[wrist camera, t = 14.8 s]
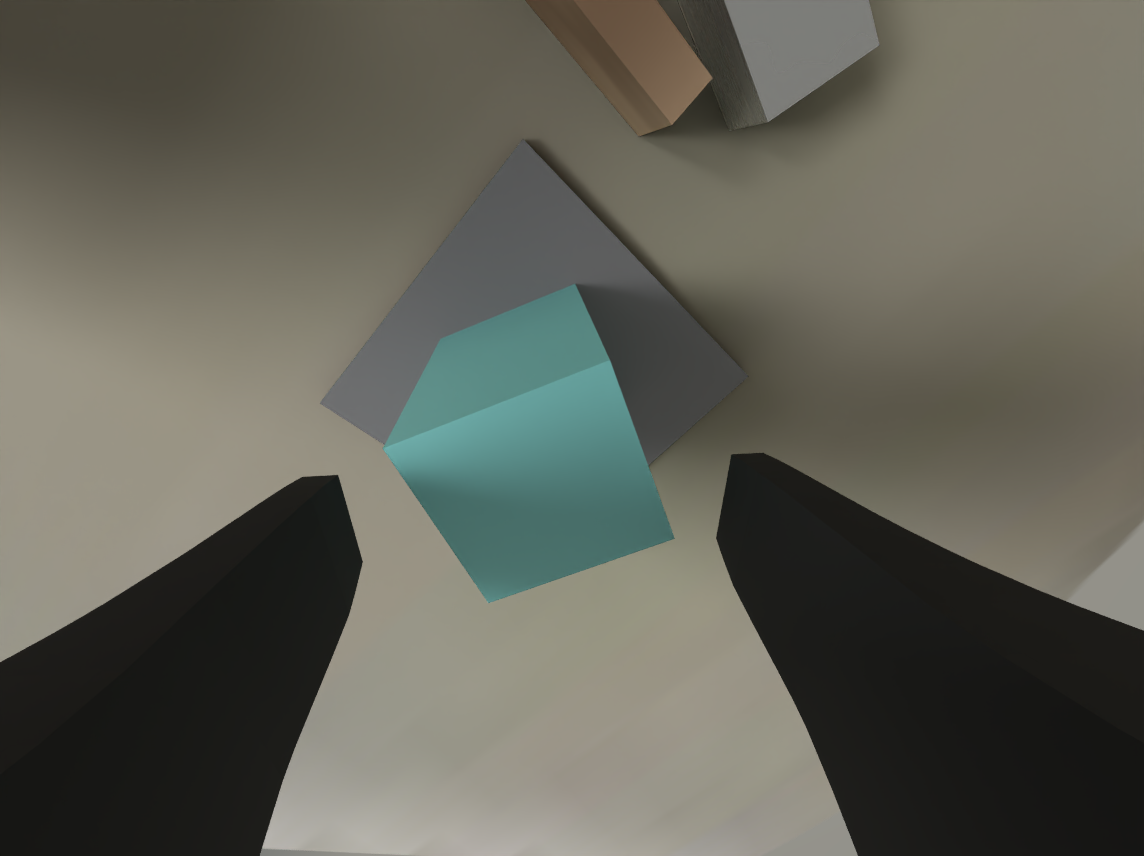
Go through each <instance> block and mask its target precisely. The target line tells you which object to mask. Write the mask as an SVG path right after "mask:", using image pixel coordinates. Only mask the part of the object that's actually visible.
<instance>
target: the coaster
mask: <svg viewBox="0 0 1144 856" xmlns="http://www.w3.org/2000/svg"><path fill="white" fill-rule="evenodd" d="M573 284H575V285H576V287H577V289H578V291H579V293H580V296H581V298H582V300H583V302H584V304H585V306H586V309H587V311H588V313H589V315H590V317H591V320H592V322H593V324H594V326H595V328H596V331H597V333H598V335H599V337H600V339H601V342H602V344H603V346H604V348H605V350H606V353H607V355H608V357H609V359H610V362H611V364H612V367H613V370H614V373H615V375H616V378H617V381H618V384H619V387H620V389H621V392H622V395H623V398H624V400H625V403H626V406H627V409H628V411H629V414H630V417H631V420H632V422H633V425H634V428H635V431H636V433H637V436H638V439H639V442H640V444H641V447H642V450H643V453H644V455H645V458H646V461H647V464H648V465H649V464H651V463H652V462H653V461H654V460H655V459H656V458H657V457H658V456H660V455H661V454H662V453H663V452H664V451H665V450H666V449H667V448H669V447H670V446H671V445H672V444H673V443H674V442H675V441H676V440H678V439H679V438H680V437H681V436H682V435H683V434H684V433H685V432H687V431H688V430H689V429H690V428H691V427H692V426H693V425H694V424H696V423H697V422H698V421H699V420H700V419H701V418H702V417H703V416H705V415H706V414H707V413H708V412H709V411H710V410H711V409H712V408H714V407H715V406H716V405H717V404H718V403H719V402H720V401H721V400H723V399H724V398H725V397H726V396H727V395H728V394H729V393H730V392H732V391H733V390H734V389H735V388H736V387H737V386H738V385H739V384H741V383H742V382H743V381H744V380H745V379H746V378H747V377H748V375H747V374H746V373H745V372H744V371H743V370H742V369H741V368H740V367H739V366H738V365H737V364H736V362H735V361H734V360H733V359H732V358H731V357H730V356H729V355H728V354H727V353H726V352H725V351H724V350H723V349H722V348H721V347H720V346H719V345H718V344H717V342H716V341H715V340H714V339H713V338H712V337H711V336H710V335H709V334H708V333H707V332H706V331H705V330H704V329H703V328H702V327H701V326H700V325H699V324H698V322H697V321H696V320H695V319H694V318H693V317H692V316H691V315H690V314H689V313H688V312H687V311H686V310H685V309H684V308H683V307H682V306H681V305H680V304H679V303H678V301H677V300H676V299H675V298H674V297H673V296H672V295H671V294H670V293H669V292H668V291H667V290H666V289H665V288H664V287H663V286H662V285H661V284H660V283H659V281H658V280H657V279H656V278H655V277H654V276H653V275H652V274H651V273H650V272H649V271H648V270H647V269H646V268H645V267H644V266H643V265H642V264H641V263H640V261H639V260H638V259H637V258H636V257H635V256H634V255H633V254H632V253H631V252H630V251H629V250H628V249H627V248H626V247H625V246H624V245H623V244H622V243H621V242H620V240H619V239H618V238H617V237H616V236H615V235H614V234H613V233H612V232H611V231H610V230H609V229H608V228H607V227H606V226H605V225H604V224H603V223H602V222H601V220H600V219H599V218H598V217H597V216H596V215H595V214H594V213H593V212H592V211H591V210H590V209H589V208H588V207H587V206H586V205H585V204H584V203H583V202H582V200H581V199H580V198H579V197H578V196H577V195H576V194H575V193H574V192H573V191H572V190H571V189H570V188H569V187H568V186H567V185H566V184H565V183H564V182H563V181H562V179H561V178H560V177H559V176H558V175H557V174H556V173H555V172H554V171H553V170H552V169H551V168H550V167H549V166H548V165H547V164H546V163H545V162H544V161H543V159H542V158H541V157H540V156H539V155H538V154H537V153H536V152H535V151H534V150H533V149H532V148H531V147H530V146H529V145H528V144H527V143H526V142H525V141H524V139H522V141H521V142H520V143H519V145H518V146H517V147H516V149H515V150H514V151H513V152H512V154H511V155H510V156H509V158H508V159H507V160H506V162H505V163H504V164H503V165H502V167H501V168H500V169H499V171H498V172H497V173H496V175H495V176H494V177H493V178H492V180H491V181H490V182H489V184H488V185H487V186H486V188H485V189H484V190H483V192H482V193H481V194H480V195H479V197H478V198H477V199H476V201H475V202H474V203H473V205H472V206H471V207H470V208H469V210H468V211H467V212H466V214H465V215H464V216H463V218H462V219H461V220H460V221H459V223H458V224H457V225H456V227H455V228H454V229H453V231H452V232H451V233H450V234H449V236H448V237H447V238H446V240H445V241H444V242H443V244H442V245H441V246H440V247H439V249H438V250H437V251H436V253H435V254H434V255H433V257H432V258H431V259H430V260H429V262H428V263H427V264H426V266H425V267H424V268H423V270H422V271H421V272H420V273H419V275H418V276H417V277H416V279H415V280H414V281H413V283H412V284H411V285H410V286H409V288H408V289H407V290H406V292H405V293H404V294H403V296H402V297H401V298H400V299H399V301H398V302H397V303H396V305H395V306H394V307H393V309H392V310H391V311H390V312H389V314H388V315H387V316H386V318H385V319H384V320H383V322H382V323H381V324H380V326H379V327H378V328H377V329H376V331H375V332H374V333H373V335H372V336H371V337H370V339H369V340H368V341H367V342H366V344H365V345H364V346H363V348H362V349H361V350H360V352H359V353H358V354H357V355H356V357H355V358H354V359H353V361H352V362H351V363H350V365H349V366H348V367H347V368H346V370H345V371H344V372H343V374H342V375H341V376H340V378H339V379H338V380H337V381H336V383H335V384H334V385H333V387H332V388H331V389H330V391H329V392H328V393H327V394H326V396H325V397H324V398H323V400H322V401H321V402H320V404H322V405H323V406H325V407H326V408H328V409H330V410H331V411H333V412H334V413H336V414H337V415H339V416H341V417H342V418H344V419H345V420H347V421H348V422H350V423H351V424H353V425H355V426H356V427H358V428H359V429H361V430H362V431H364V432H365V433H367V434H369V435H370V436H372V437H373V438H375V439H376V440H378V441H379V442H381V443H383V444H384V445H385V443H386V442H387V440H388V438H389V436H390V434H391V432H392V430H393V428H394V426H395V424H396V422H397V421H398V419H399V417H400V415H401V413H402V411H403V409H404V407H405V405H406V403H407V402H408V400H409V398H410V396H411V394H412V392H413V390H414V388H415V386H416V384H417V383H418V381H419V379H420V377H421V375H422V373H423V371H424V369H425V367H426V365H427V364H428V362H429V360H430V358H431V356H432V354H433V352H434V350H435V348H436V346H437V344H438V343H439V341H440V339H441V338H444V337H446V336H449V335H451V334H454V333H456V332H458V331H461V330H463V329H466V328H468V327H471V326H473V325H476V324H478V323H480V322H483V321H485V320H488V319H490V318H493V317H495V316H497V315H500V314H502V313H505V312H507V311H510V310H512V309H515V308H517V307H519V306H522V305H524V304H527V303H529V302H532V301H534V300H537V299H539V298H541V297H544V296H546V295H549V294H551V293H554V292H556V291H559V290H561V289H563V288H566V287H568V286H571V285H573Z"/></svg>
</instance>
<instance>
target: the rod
mask: <svg viewBox="0 0 1144 856" xmlns="http://www.w3.org/2000/svg"><path fill="white" fill-rule="evenodd" d="M677 1H678V4H679V6H680V9H681V11H682V14H683V16H684V19H685V21H686V24H687V26H688V29H689V31H690V34H691V36H692V39H693V41H694V44H695V47H696V49H697V52H698V54H699V57H700V59H701V62H702V64H703V65H704V67H705V68H706V69H707V71H708V72H709V74H710V75H711V76H712V79H711V81H710V84H711V87H712V89H713V92H714V94H715V97H716V99H717V102H718V104H719V107H720V109H721V112H722V114H723V117H724V119H725V122H726V124H727V127H728V129H729V131H731V130H735V129H740V128H744V127H749V126H753V125H758V124H762V123H767V122H769V121H771V120H772V119H773V118H775V117H776V116H778V115H779V114H781V113H782V112H784V111H785V110H786V109H788V108H789V107H791V106H792V105H794V104H795V103H797V102H798V101H799V100H801V99H802V98H804V97H805V96H807V95H808V94H810V93H811V92H812V91H814V90H815V89H817V88H818V87H820V86H821V85H823V84H824V83H825V82H827V81H828V80H830V79H831V78H833V77H834V76H836V75H837V74H839V73H840V72H841V71H843V70H844V69H846V68H847V67H849V66H850V65H852V64H853V63H854V62H856V61H857V60H859V59H860V58H862V57H863V56H865V55H866V54H867V53H869V52H870V51H872V50H873V49H875V48H876V47H878V46H879V41H878V37H877V33H876V28H875V24H874V20H873V16H872V12H871V8H870V3H869V0H677Z"/></svg>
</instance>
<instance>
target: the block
mask: <svg viewBox="0 0 1144 856" xmlns="http://www.w3.org/2000/svg"><path fill="white" fill-rule="evenodd" d="M383 450H384V451H385V452H386V454H387V455H388V457H389V458H390V460H391V461H392V463H393V464H394V466H395V467H396V469H397V470H398V471H399V473H400V474H401V476H402V477H403V479H404V480H405V482H406V483H407V485H408V486H409V488H410V489H411V490H412V492H413V493H414V495H415V496H416V498H417V499H418V501H419V502H420V504H421V505H422V507H423V508H424V509H425V511H426V512H427V514H428V515H429V517H430V518H431V520H432V521H433V523H434V524H435V526H436V527H437V528H438V530H439V531H440V533H441V534H442V536H443V537H444V539H445V540H446V542H447V543H448V545H449V546H450V547H451V549H452V550H453V552H454V553H455V555H456V556H457V558H458V559H459V561H460V562H461V564H462V565H463V566H464V568H465V569H466V571H467V572H468V574H469V575H470V577H471V578H472V580H473V581H474V583H475V584H476V585H477V587H478V588H479V590H480V591H481V593H482V594H483V596H484V597H485V599H486V600H487V602H488V603H490V602H493V601H496V600H499V599H502V598H505V597H508V596H510V595H513V594H516V593H519V592H522V591H525V590H528V589H531V588H534V587H536V586H539V585H542V584H545V583H548V582H551V581H554V580H557V579H560V578H562V577H565V576H568V575H571V574H574V573H577V572H580V571H583V570H586V569H588V568H591V567H594V566H597V565H600V564H603V563H606V562H609V561H612V560H614V559H617V558H620V557H623V556H626V555H629V554H632V553H635V552H638V551H640V550H643V549H646V548H649V547H652V546H655V545H658V544H661V543H664V542H666V541H669V540H672V539H675V538H674V536H673V533H672V530H671V527H670V524H669V522H668V519H667V516H666V513H665V511H664V508H663V505H662V502H661V500H660V497H659V494H658V491H657V489H656V486H655V483H654V480H653V478H652V475H651V472H650V469H649V467H648V464H647V461H646V458H645V455H644V453H643V450H642V447H641V444H640V442H639V439H638V436H637V433H636V431H635V428H634V425H633V422H632V420H631V417H630V414H629V411H628V409H627V406H626V403H625V400H624V398H623V395H622V392H621V389H620V387H619V384H618V381H617V378H616V375H615V373H614V370H613V367H612V364H611V362H610V359H609V357H608V355H607V353H606V350H605V348H604V346H603V344H602V342H601V339H600V337H599V335H598V333H597V331H596V328H595V326H594V324H593V322H592V320H591V317H590V315H589V313H588V311H587V309H586V306H585V304H584V302H583V300H582V298H581V296H580V293H579V291H578V289H577V287H576V285H575V284H573V285H571V286H568V287H566V288H563V289H561V290H559V291H556V292H554V293H551V294H549V295H546V296H544V297H541V298H539V299H537V300H534V301H532V302H529V303H527V304H524V305H522V306H519V307H517V308H515V309H512V310H510V311H507V312H505V313H502V314H500V315H497V316H495V317H493V318H490V319H488V320H485V321H483V322H480V323H478V324H476V325H473V326H471V327H468V328H466V329H463V330H461V331H458V332H456V333H454V334H451V335H449V336H446V337H444V338H441V339H440V341H439V343H438V344H437V346H436V348H435V350H434V352H433V354H432V356H431V358H430V360H429V362H428V364H427V365H426V367H425V369H424V371H423V373H422V375H421V377H420V379H419V381H418V383H417V384H416V386H415V388H414V390H413V392H412V394H411V396H410V398H409V400H408V402H407V403H406V405H405V407H404V409H403V411H402V413H401V415H400V417H399V419H398V421H397V422H396V424H395V426H394V428H393V430H392V432H391V434H390V436H389V438H388V440H387V442H386V443H385V445H384V447H383Z"/></svg>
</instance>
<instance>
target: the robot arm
mask: <svg viewBox="0 0 1144 856" xmlns="http://www.w3.org/2000/svg"><path fill="white" fill-rule="evenodd" d="M716 539H717V542H718V545H719V548H720V551H721V554H722V556H723V559H724V562H725V565H726V568H727V570H728V573H729V575H730V578H731V581H732V583H733V586H734V588H735V590H736V592H737V594H738V596H739V598H740V600H741V602H742V604H743V605H744V607H745V609H746V611H747V613H748V615H749V617H750V619H751V621H752V623H753V625H754V627H755V629H756V630H757V632H758V634H759V636H760V638H761V640H762V642H763V644H764V646H765V648H766V649H767V651H768V653H769V655H770V657H771V659H772V661H773V663H774V665H775V666H776V668H777V670H778V672H779V674H780V676H781V678H782V680H783V682H784V684H785V685H786V687H787V689H788V691H789V693H790V695H791V697H792V699H793V701H794V703H795V705H796V707H797V709H798V711H799V713H800V715H801V717H802V719H803V722H804V724H805V726H806V728H807V730H808V732H809V735H810V737H811V740H812V742H813V745H814V747H815V749H816V752H817V754H818V757H819V759H820V761H821V764H822V766H823V769H824V771H825V773H826V776H827V778H828V781H829V783H830V785H831V788H832V790H833V793H834V795H835V798H836V800H837V803H838V805H839V808H840V811H841V813H842V816H843V818H844V821H845V823H846V826H847V829H848V831H849V833H850V836H851V839H852V841H853V844H854V846H855V849H856V852H857V854H858V856H1144V631H1143V630H1140V629H1138V628H1135V627H1132V626H1129V625H1127V624H1124V623H1122V622H1119V621H1116V620H1114V619H1111V618H1108V617H1105V616H1103V615H1100V614H1098V613H1095V612H1092V611H1090V610H1087V609H1084V608H1081V607H1079V606H1076V605H1074V604H1071V603H1069V602H1066V601H1064V600H1061V599H1059V598H1056V597H1054V596H1051V595H1049V594H1046V593H1044V592H1041V591H1039V590H1037V589H1034V588H1032V587H1030V586H1027V585H1025V584H1023V583H1020V582H1018V581H1016V580H1013V579H1011V578H1009V577H1007V576H1004V575H1002V574H1000V573H997V572H995V571H993V570H990V569H988V568H986V567H983V566H981V565H979V564H977V563H974V562H972V561H970V560H968V559H966V558H964V557H961V556H959V555H957V554H955V553H953V552H951V551H949V550H947V549H945V548H943V547H941V546H939V545H937V544H935V543H933V542H931V541H929V540H927V539H925V538H922V537H920V536H918V535H916V534H914V533H912V532H910V531H908V530H906V529H904V528H902V527H901V526H899V525H897V524H895V523H893V522H891V521H889V520H887V519H885V518H883V517H881V516H880V515H878V514H876V513H874V512H872V511H870V510H868V509H867V508H865V507H863V506H861V505H859V504H857V503H856V502H854V501H852V500H850V499H848V498H847V497H845V496H843V495H841V494H839V493H838V492H836V491H834V490H832V489H830V488H829V487H827V486H825V485H823V484H821V483H820V482H818V481H816V480H814V479H813V478H811V477H809V476H807V475H805V474H804V473H802V472H800V471H798V470H796V469H794V468H792V467H791V466H789V465H787V464H785V463H783V462H781V461H779V460H777V459H775V458H773V457H771V456H769V455H766V454H764V453H751V454H732V455H731V460H730V465H729V471H728V476H727V482H726V487H725V493H724V498H723V504H722V509H721V515H720V520H719V526H718V531H717V537H716ZM362 563H363V561H362V558H361V554H360V551H359V547H358V544H357V540H356V537H355V533H354V529H353V526H352V522H351V519H350V515H349V512H348V508H347V505H346V501H345V498H344V494H343V491H342V487H341V484H340V480H339V477H338V475H330V476H311V477H302V478H300V479H298V480H296V481H294V482H293V483H291V484H289V485H287V486H286V487H284V488H283V489H281V490H279V491H278V492H276V493H275V494H273V495H272V496H270V497H269V498H267V499H266V500H264V501H263V502H261V503H260V504H258V505H257V506H255V507H254V508H252V509H251V510H249V511H248V512H246V513H245V514H243V515H242V516H240V517H239V518H237V519H236V520H234V521H233V522H231V523H230V524H228V525H227V526H225V527H224V528H222V529H221V530H219V531H218V532H216V533H215V534H213V535H212V536H210V537H209V538H207V539H206V540H204V541H203V542H201V543H200V544H198V545H197V546H195V547H194V548H192V549H191V550H189V551H188V552H186V553H185V554H183V555H181V556H180V557H178V558H177V559H175V560H173V561H172V562H170V563H169V564H167V565H165V566H164V567H162V568H161V569H159V570H157V571H156V572H154V573H153V574H151V575H149V576H148V577H146V578H145V579H143V580H141V581H140V582H138V583H137V584H135V585H133V586H132V587H130V588H129V589H127V590H125V591H124V592H122V593H121V594H119V595H117V596H116V597H114V598H113V599H111V600H110V601H108V602H106V603H105V604H103V605H101V606H100V607H98V608H96V609H94V610H93V611H91V612H89V613H88V614H86V615H84V616H83V617H81V618H79V619H77V620H76V621H74V622H72V623H70V624H69V625H67V626H65V627H63V628H62V629H60V630H58V631H56V632H55V633H53V634H51V635H49V636H47V637H46V638H44V639H42V640H40V641H38V642H37V643H35V644H33V645H31V646H29V647H27V648H26V649H24V650H22V651H20V652H18V653H16V654H15V655H13V656H11V657H9V658H7V659H5V660H4V661H2V662H0V856H260V853H261V849H262V846H263V843H264V840H265V836H266V833H267V830H268V827H269V823H270V820H271V817H272V814H273V810H274V807H275V804H276V801H277V798H278V794H279V791H280V788H281V785H282V781H283V779H284V776H285V773H286V770H287V768H288V765H289V762H290V760H291V757H292V754H293V751H294V749H295V746H296V744H297V741H298V739H299V736H300V734H301V732H302V729H303V727H304V724H305V722H306V719H307V717H308V715H309V712H310V710H311V707H312V705H313V702H314V700H315V697H316V695H317V693H318V690H319V688H320V685H321V683H322V680H323V678H324V676H325V673H326V671H327V668H328V666H329V663H330V661H331V659H332V656H333V654H334V651H335V649H336V646H337V644H338V641H339V639H340V636H341V634H342V631H343V629H344V626H345V624H346V621H347V618H348V616H349V613H350V609H351V606H352V602H353V598H354V595H355V591H356V587H357V583H358V579H359V575H360V571H361V567H362Z"/></svg>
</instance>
